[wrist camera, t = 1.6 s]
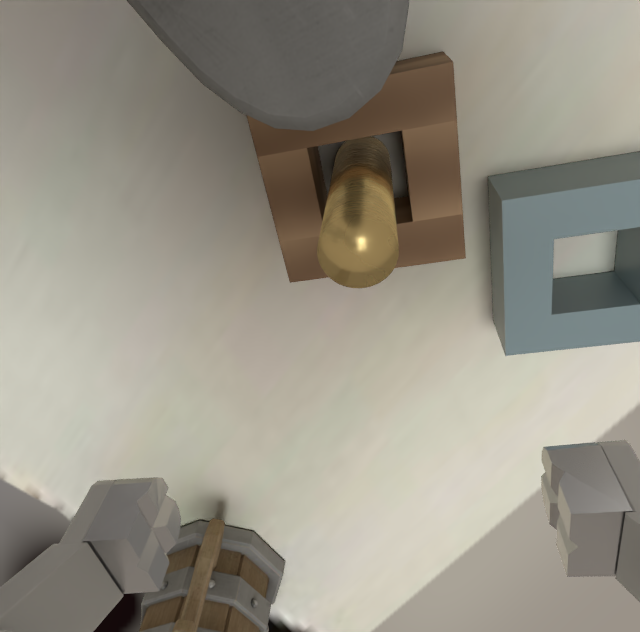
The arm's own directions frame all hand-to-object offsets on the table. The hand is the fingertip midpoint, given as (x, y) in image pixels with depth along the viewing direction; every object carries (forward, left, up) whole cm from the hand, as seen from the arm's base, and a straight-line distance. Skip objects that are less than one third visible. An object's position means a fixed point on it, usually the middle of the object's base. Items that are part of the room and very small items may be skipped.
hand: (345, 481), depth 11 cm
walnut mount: (0, 0, -23) cm, 23 cm away
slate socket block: (+7, +12, -23) cm, 27 cm away
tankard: (+34, -19, -24) cm, 45 cm away
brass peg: (0, 0, -23) cm, 23 cm away
